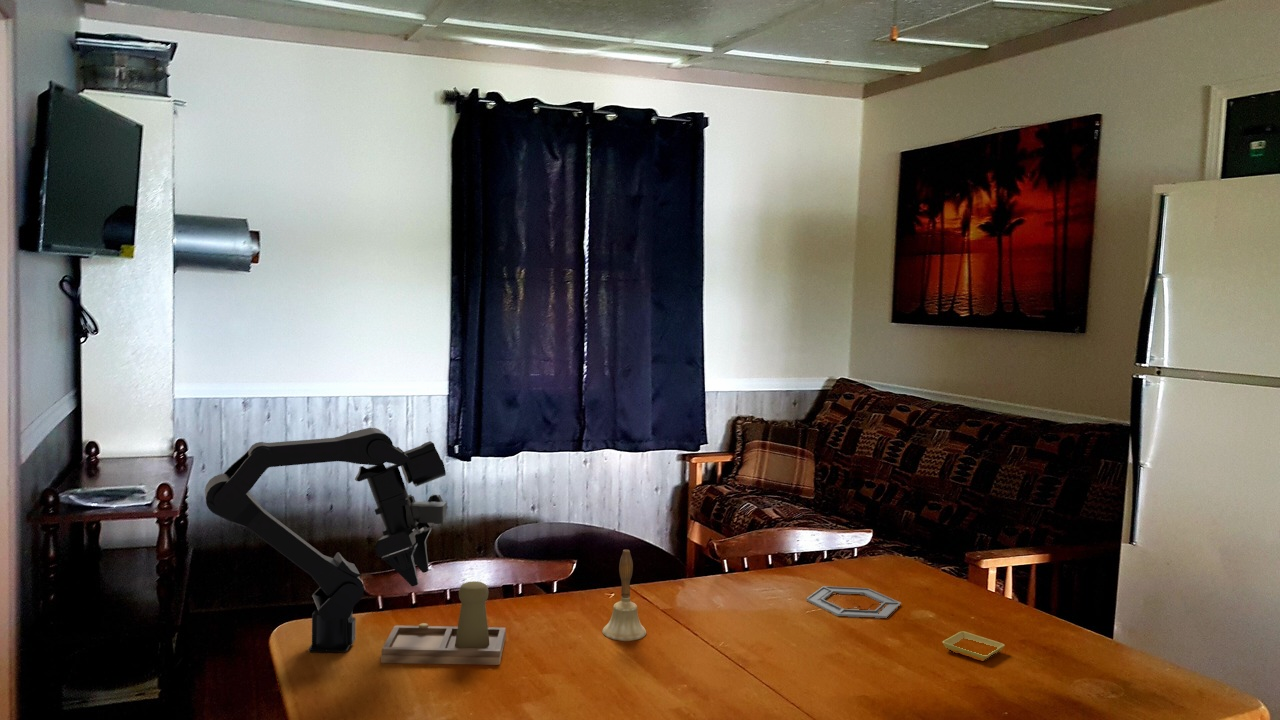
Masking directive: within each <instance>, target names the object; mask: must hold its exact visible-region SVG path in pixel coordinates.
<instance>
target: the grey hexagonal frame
mask: <svg viewBox="0 0 1280 720" xmlns="http://www.w3.org/2000/svg"><path fill="white" fill-rule="evenodd" d="M833 593H839V594H838V595H851V594H860V595H859V596H864V595H865V596H864V597H866V596H867V597H866V598H868V597H870V598H869V599H871V598H872V599H871V600H873V599H874V600H873V601H875V600H876V601H875V602H877V601H879V602H881V603H880V604H881V605H878V606H877V607H876V609H868V610H859V609H844V608H843V607H841V606H839V605H837V604H835V603H833V602H830V601H828V600H827V599H828V598H829V597H830V595H831V594H832V595H833ZM832 595H831V596H832ZM827 597H828V598H827ZM826 598H827V599H826ZM806 600H807V601H809V602H810V604H811V603H812V605H813V604H814V606H815V605H816V607H817V606H818V607H817V608H819V607H821V608H823V609H825V610H827V611H829V612H831V613H832V615H833V614H834V615H833V616H835V615H836V616H835V617H838V616H848V617H847V618H859V617H875V618H874V619H880V618H887V617H888V616H889V615H890V614H891V613H892V612H893V611H894V610H895V609H896V608H897V607H898V606H900V604H901V605H902V602H901V601H898V600H896V599H893V598H892V597H889V596H887V595H885V594H882V593H880V592H878V591H875V590H873V589H870V588H869V587H868V588H866V587H851V586H849V587H848V586H827V585H826V586H824V585H822V587H820V588H819V589H817V590H815V592H813V593H811V594H810V595H808V597H806ZM806 600H805V601H806ZM807 601H806V602H807ZM809 602H808V603H809ZM879 602H878V603H879ZM885 604H888V605H885ZM884 605H885V608H884V607H883V606H884ZM900 607H901V606H900ZM821 608H820V609H821ZM881 608H882V611H880V610H881ZM823 609H822V610H823ZM879 609H880V610H879ZM897 609H898V608H897ZM897 609H896V610H897ZM825 610H824V611H825ZM878 610H879V611H878ZM896 610H895V611H896ZM827 611H826V612H827ZM895 611H894V612H895ZM829 612H828V613H829ZM894 612H893V613H894ZM831 613H830V614H831ZM878 613H879V614H878ZM893 613H892V614H893ZM892 614H891V615H892ZM891 615H890V616H891ZM890 616H889V617H890ZM889 617H888V618H889ZM888 618H887V619H888Z"/></svg>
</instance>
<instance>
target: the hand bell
mask: <svg viewBox="0 0 1280 720" xmlns="http://www.w3.org/2000/svg"><path fill="white" fill-rule="evenodd" d="M618 566H619V567H618V571H619V578H620V580H621V581H620V582H621V589H620V597H621V598H620V600H619V601H617V602H616V603H614V604H613V609H612V610H613V611H612V613H611V617H610V620H609V621H608V623H607V624H606V625H605V626H604V627H603V628H602V630H601V631H602V634H603V635H604V636H605V637H606V638H608V639H610V640H613V641H621V642H630V641H637V640H640V639H643V638H644V637H646V635H647V631H646V629H645V627H644V626H643V625H642V623H641V621H640V619H639V613H638V605H637V604H636V603H635V602H633V601H631V593H630V592H631V588H630V586H631V579H632V576H633V571H634V562H633V559H632V555H631V551H630V549H623V550H622V554H621V556H620V560H619V565H618Z"/></svg>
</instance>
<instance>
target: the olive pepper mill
mask: <svg viewBox="0 0 1280 720" xmlns="http://www.w3.org/2000/svg"><path fill="white" fill-rule="evenodd" d="M458 597H459V598H458V599H459V600H460V602H461V604H460V612H459V617H458V622H457V624H458V625H457V627H458V629H457V635H456V642H455V646H456V647H457V648H475V649H485V648H486V647H488V646H489V634H488V626H489V625H488V619H487V607H486V606H487V605H486V601H487V600H488V599H489V587H488V586H487V584H486V583H484V582H482V581H468V582H464V583H462V584H461V585H460V587H459V589H458Z"/></svg>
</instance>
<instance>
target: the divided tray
mask: <svg viewBox="0 0 1280 720" xmlns="http://www.w3.org/2000/svg"><path fill="white" fill-rule="evenodd" d="M457 629H458V626H445V625H444V626H443V625H442V626H441V625H429V624H428V623H425V622H423V623H420V624H418V625H394V626H393V628H392V630H391V631H390V633H389V635H388V637H387V639H386V640H385V643H384V644H383V646H382V648H381V655H380V663H381V664H421V665H422V664H426V665H427V664H429V665H431V664H434V665H479V666H481V665H482V666H483V665H484V666H485V665H487V666H488V665H489V666H496V665H497V666H500V664H501V661H502V660H501V659H502V654H503V650H504V646H505V642H506V639H507V638H506V629H507V628H506V627H500V626H499V627H498V626H493V627H491V626H489V627H488V634H489V646H488V647H486V648H485V649H475V648H457V647H456V646H455V642H456V635H457Z"/></svg>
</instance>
